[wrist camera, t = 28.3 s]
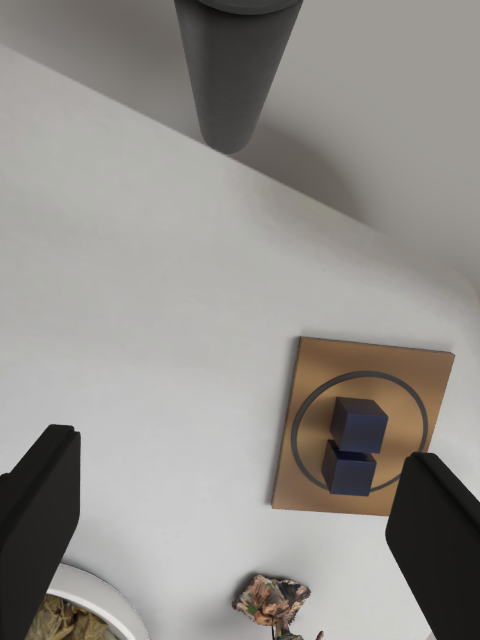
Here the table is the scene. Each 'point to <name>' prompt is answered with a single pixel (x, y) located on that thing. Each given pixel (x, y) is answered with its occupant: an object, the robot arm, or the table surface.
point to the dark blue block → (347, 471)
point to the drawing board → (363, 383)
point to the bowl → (84, 610)
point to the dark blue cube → (358, 425)
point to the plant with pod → (273, 604)
